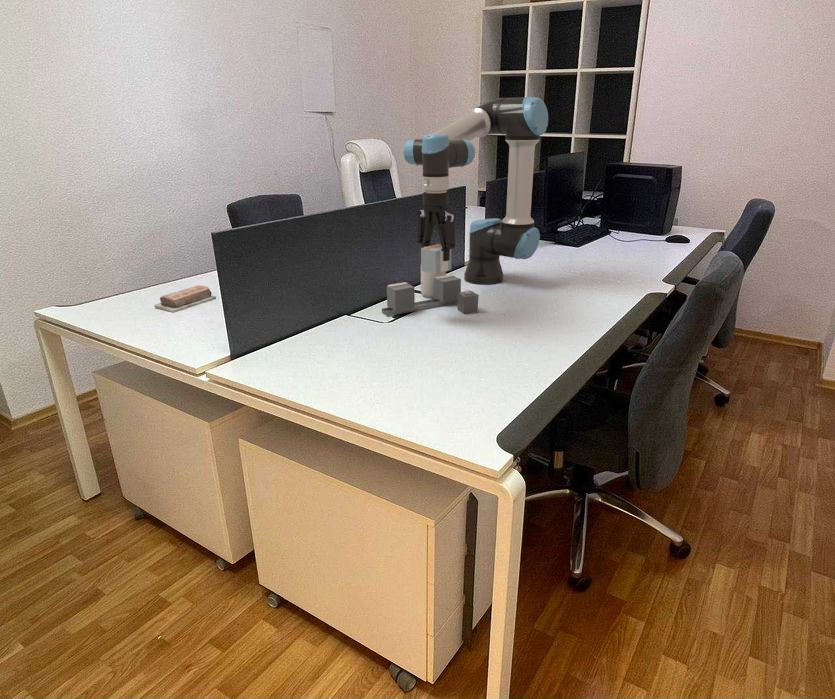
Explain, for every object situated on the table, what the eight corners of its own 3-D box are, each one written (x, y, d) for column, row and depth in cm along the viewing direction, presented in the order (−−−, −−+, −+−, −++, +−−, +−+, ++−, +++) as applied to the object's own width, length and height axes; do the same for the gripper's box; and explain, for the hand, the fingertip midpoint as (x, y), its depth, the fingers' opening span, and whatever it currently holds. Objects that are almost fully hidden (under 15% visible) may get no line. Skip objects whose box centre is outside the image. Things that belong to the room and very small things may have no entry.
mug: (448, 298, 198) (448, 267, 193) (423, 299, 196) (423, 268, 192) (440, 288, 209) (440, 259, 204) (417, 290, 207) (416, 260, 203)
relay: (471, 308, 187) (471, 288, 185) (477, 312, 183) (478, 292, 180) (457, 309, 186) (458, 290, 183) (463, 314, 181) (464, 294, 179)
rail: (458, 298, 197) (458, 294, 196) (464, 301, 194) (465, 297, 193) (381, 313, 183) (381, 308, 183) (387, 316, 180) (387, 311, 180)
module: (437, 266, 176) (436, 243, 173) (451, 269, 172) (451, 246, 169) (421, 270, 172) (420, 247, 169) (435, 274, 168) (435, 250, 165)
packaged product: (196, 282, 203) (214, 286, 198) (198, 295, 205) (216, 299, 200) (151, 295, 189) (170, 300, 184) (154, 309, 191) (173, 314, 186)
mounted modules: (451, 294, 196) (451, 274, 193) (460, 298, 191) (460, 278, 188) (387, 306, 185) (386, 284, 182) (395, 311, 180) (395, 289, 177)
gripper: (403, 190, 166) (405, 266, 175) (451, 195, 154) (450, 277, 163) (421, 187, 171) (422, 261, 180) (469, 192, 159) (467, 272, 168)
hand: (436, 268), depth 172 cm, fingers closed on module, 6 cm apart
